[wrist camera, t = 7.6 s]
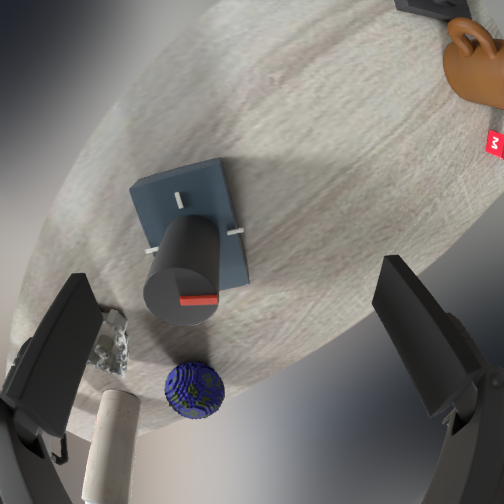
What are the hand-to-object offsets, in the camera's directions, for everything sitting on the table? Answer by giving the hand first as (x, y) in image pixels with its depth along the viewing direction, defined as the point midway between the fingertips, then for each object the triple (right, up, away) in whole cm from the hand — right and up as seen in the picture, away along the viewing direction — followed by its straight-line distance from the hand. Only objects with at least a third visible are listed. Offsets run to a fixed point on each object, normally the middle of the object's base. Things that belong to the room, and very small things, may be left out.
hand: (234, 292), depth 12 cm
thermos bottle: (-23, -26, +32) cm, 47 cm away
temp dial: (-5, +3, +13) cm, 14 cm away
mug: (+22, +23, +7) cm, 33 cm away
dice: (+32, +16, +12) cm, 38 cm away
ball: (-7, -16, +27) cm, 32 cm away
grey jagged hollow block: (-19, -9, +22) cm, 31 cm away
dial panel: (-5, +4, +16) cm, 17 cm away
